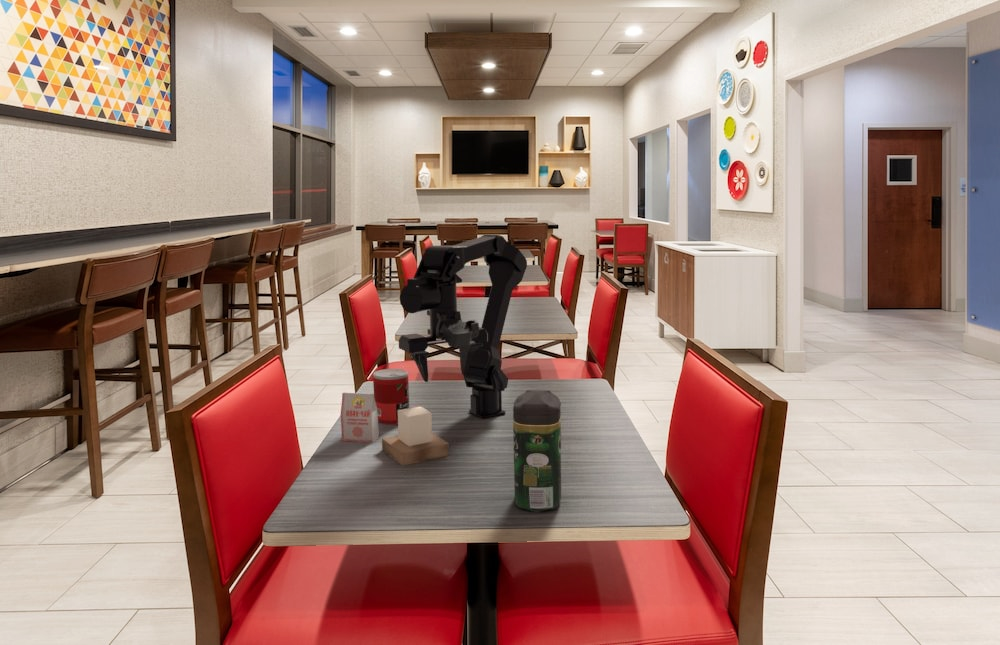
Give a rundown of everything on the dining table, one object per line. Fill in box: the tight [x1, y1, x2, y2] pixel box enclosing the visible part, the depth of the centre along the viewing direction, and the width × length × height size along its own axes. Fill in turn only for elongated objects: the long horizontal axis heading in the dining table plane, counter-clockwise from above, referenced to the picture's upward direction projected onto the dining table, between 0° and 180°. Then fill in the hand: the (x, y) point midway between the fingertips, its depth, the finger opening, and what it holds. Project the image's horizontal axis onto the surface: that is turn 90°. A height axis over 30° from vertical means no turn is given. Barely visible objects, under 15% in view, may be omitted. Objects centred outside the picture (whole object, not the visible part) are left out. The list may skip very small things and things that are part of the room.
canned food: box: [372, 368, 410, 425], centre depth 161 cm, size 8×8×11 cm
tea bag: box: [340, 392, 380, 443], centre depth 149 cm, size 4×7×10 cm, turn 81°
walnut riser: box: [381, 432, 450, 467], centre depth 141 cm, size 10×10×3 cm
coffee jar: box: [512, 389, 562, 512], centre depth 117 cm, size 10×8×19 cm
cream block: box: [397, 406, 433, 446], centre depth 140 cm, size 5×5×6 cm
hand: (445, 378), depth 151 cm, fingers open, 9 cm apart
